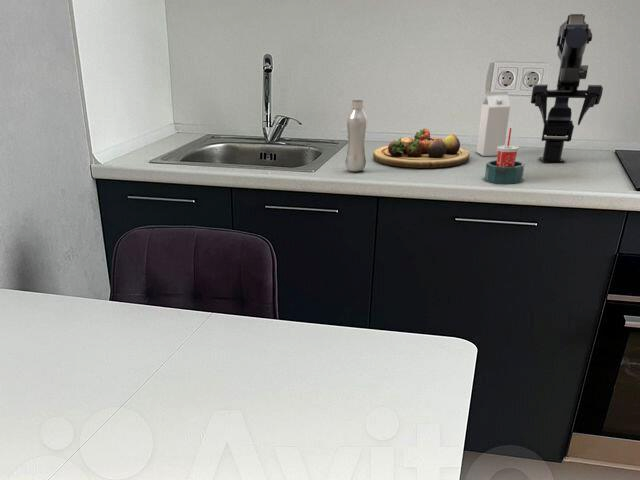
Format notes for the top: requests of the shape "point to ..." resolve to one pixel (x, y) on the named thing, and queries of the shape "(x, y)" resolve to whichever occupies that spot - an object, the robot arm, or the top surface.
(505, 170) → the pot
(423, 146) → the wooden plate
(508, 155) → the beverage cup
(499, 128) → the milk carton
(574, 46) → the robot arm
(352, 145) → the plastic bottle
